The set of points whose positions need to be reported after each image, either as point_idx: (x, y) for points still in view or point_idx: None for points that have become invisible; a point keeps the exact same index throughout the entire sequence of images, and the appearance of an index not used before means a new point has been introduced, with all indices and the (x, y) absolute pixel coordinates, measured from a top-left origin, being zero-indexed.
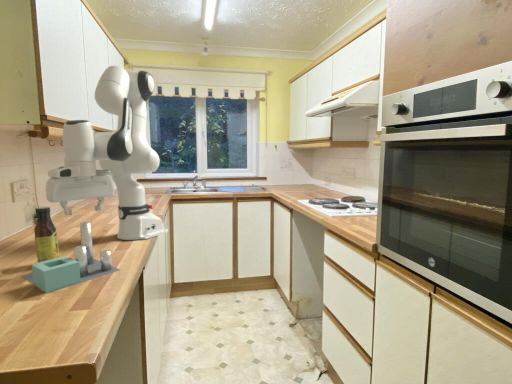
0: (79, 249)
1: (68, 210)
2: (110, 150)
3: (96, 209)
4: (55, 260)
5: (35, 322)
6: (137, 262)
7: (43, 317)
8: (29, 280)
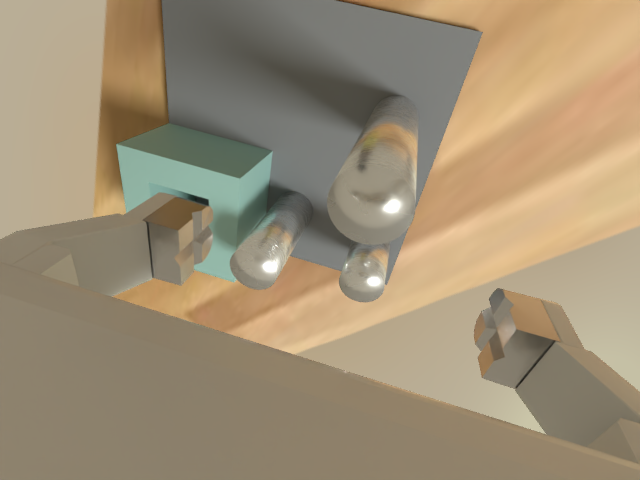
0: (241, 279)
1: (152, 271)
2: None
3: (480, 330)
4: (190, 191)
5: (131, 293)
6: (491, 278)
7: (145, 292)
8: (169, 65)
